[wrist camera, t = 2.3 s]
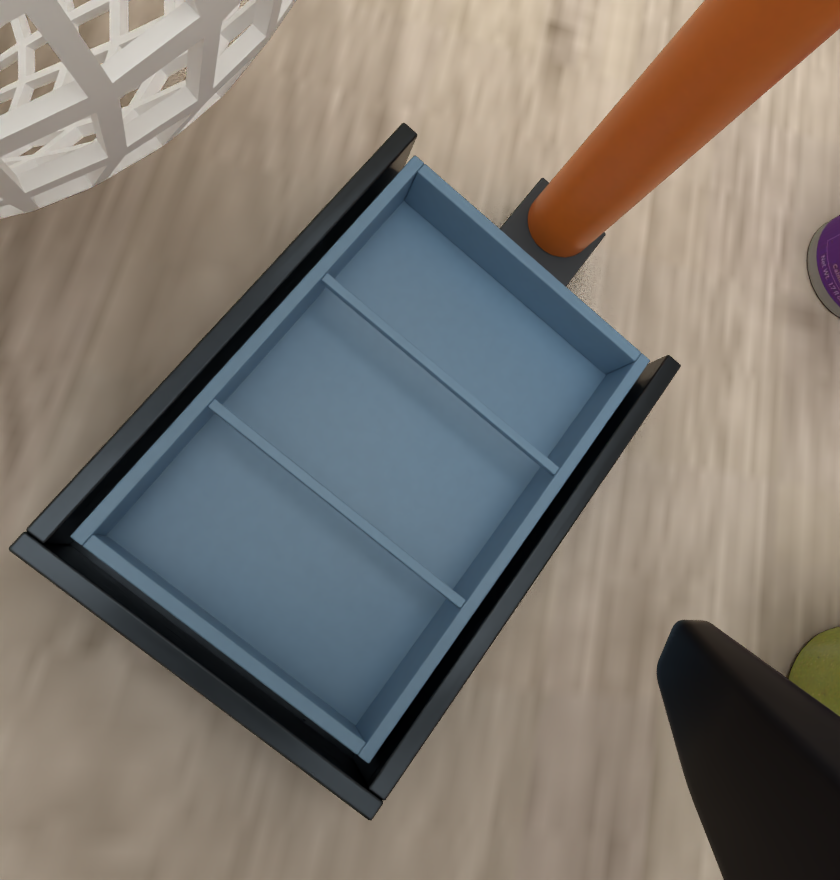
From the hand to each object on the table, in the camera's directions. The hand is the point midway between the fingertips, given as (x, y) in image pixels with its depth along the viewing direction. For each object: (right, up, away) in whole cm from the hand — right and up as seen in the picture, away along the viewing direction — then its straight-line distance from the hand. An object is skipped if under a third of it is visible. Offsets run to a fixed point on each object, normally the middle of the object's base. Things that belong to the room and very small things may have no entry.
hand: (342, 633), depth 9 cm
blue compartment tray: (+1, +4, +15) cm, 15 cm away
